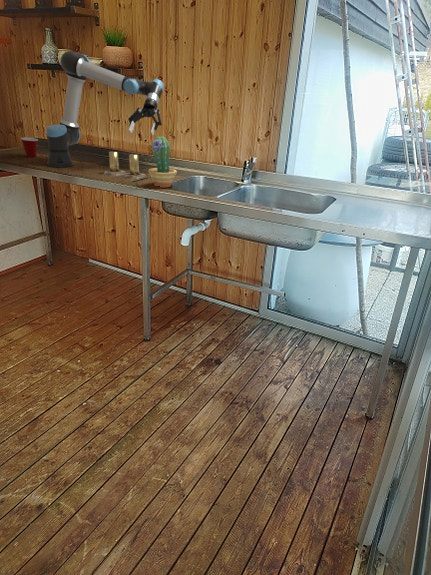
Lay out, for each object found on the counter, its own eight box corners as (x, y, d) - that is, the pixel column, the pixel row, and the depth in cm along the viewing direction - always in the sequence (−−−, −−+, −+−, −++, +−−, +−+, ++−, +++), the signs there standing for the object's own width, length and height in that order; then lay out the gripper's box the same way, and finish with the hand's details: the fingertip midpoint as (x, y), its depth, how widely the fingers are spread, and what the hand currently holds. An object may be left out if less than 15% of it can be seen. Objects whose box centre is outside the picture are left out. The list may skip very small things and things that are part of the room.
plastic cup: (36, 158, 268) (34, 139, 263) (20, 157, 268) (17, 138, 263) (43, 156, 278) (40, 137, 273) (27, 155, 278) (24, 136, 273)
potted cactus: (143, 183, 218) (142, 135, 207) (167, 181, 226) (167, 134, 215) (156, 189, 207) (156, 138, 196) (182, 187, 216) (183, 138, 204)
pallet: (100, 176, 228) (100, 171, 227) (115, 173, 240) (115, 168, 239) (134, 182, 220) (133, 177, 219) (148, 178, 232) (148, 173, 230)
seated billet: (108, 173, 231) (107, 152, 225) (113, 172, 235) (112, 151, 230) (115, 174, 229) (114, 153, 224) (120, 173, 233) (119, 152, 228)
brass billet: (128, 177, 226) (127, 155, 220) (133, 175, 230) (132, 153, 224) (135, 178, 224) (134, 156, 219) (140, 176, 228) (140, 154, 223)
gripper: (172, 109, 235) (163, 139, 229) (134, 106, 240) (123, 135, 234) (169, 100, 228) (159, 130, 222) (129, 97, 233) (118, 126, 227)
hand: (141, 132), depth 228 cm, fingers open, 13 cm apart
